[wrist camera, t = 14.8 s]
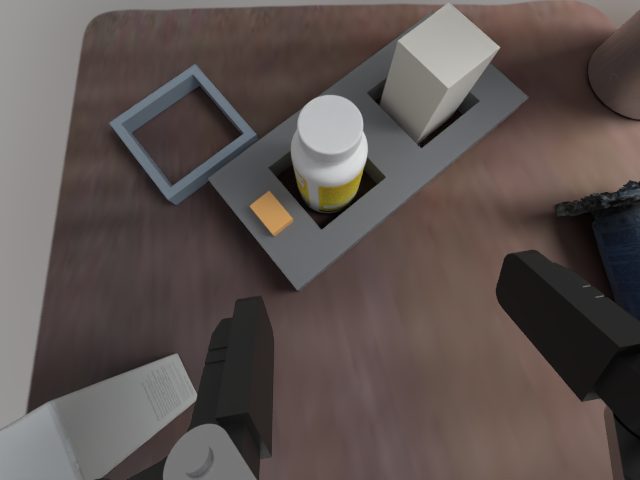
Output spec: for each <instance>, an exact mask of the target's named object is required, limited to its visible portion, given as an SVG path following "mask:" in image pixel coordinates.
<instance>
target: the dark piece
mask: <svg viewBox="0 0 640 480" xmlns="http://www.w3.org/2000/svg"><path fill="white" fill-rule="evenodd" d="M623 186H624V187H622V188H620V189H619V190H618V191H617V192H615V193H612V194H610V193H608V192H605V193H601V194H598V193H597V194H595V193H593V194H591V195H590V196H588V197H587V196H585V198H584V199H583V198H582V201H580V202H579V201H577V200H576V201H574V202H562V203H559V204H557V205H558V208H557V209H558V210H556V213H557V212H558V213H557V216H560V215H563V216H565V215H570V216H577V215H578V214H583V213H586V212H587V213H589V212H590V213H591V215H592V214H593V216H594V217H595V219H596V221H593V224H592V228H593V230H594V236H595V238H596V240H597V246H598V249H599V252H600V255H601V257H602V262H603V264H604V267H605V270H606V274H607V276H608V280H609V284H610V286H611V289H612V292H613V295H614V299H615V302H616V304H617V305H618V306H620V307H621V308H622V309H624V310H625V311H626V312H627V313H629V314H630V315H631V316H633V317H634V318H635V319H637V320H638V321H639V322H640V181H639V183H638V182H635V181H630V180H629V182H628V183H627V184H626V185H623Z"/></svg>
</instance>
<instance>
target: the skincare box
mask: <svg viewBox="0 0 640 480" xmlns="http://www.w3.org/2000/svg"><path fill="white" fill-rule="evenodd" d="M196 399H197V393H196V391H195V389H194V387H193V385H192V383H191V381H190V379H189V377H188V375H187V373H186V371H185V368H184V366H183V364H182V362H181V360H180V358H179V355H178V354H177V353H175V354H172V355H170V356H167V357H165V358H162V359H159V360H157V361H154V362H151V363H149V364H146V365H144V366H141V367H138V368H136V369H133V370H130V371H127V372H125V373H122V374H120V375H117V376H114V377H112V378H109V379H106V380H104V381H101V382H98V383H96V384H93V385H90V386H88V387H85V388H83V389H80V390H78V391H75V392H72V393H70V394H67V395H65V396H62V397H59V398H57V399H54V400H51V401H49V402H47V403H45V404H43V405H42V406H40V407H38V408H37V409H35V410H33V411H32V412H30V413H28V414H26V415H25V416H23V417H21V418H20V419H18V420H16V421H14V422H13V423H11V424H9V425H7V426H6V427H4V428H2V429H0V480H95V479H100V478H102V477H103V476H104V475H106V474H107V473H108V472H109V471H110V470H112V469H113V468H114V467H115V466H117V465H118V464H119V463H120V462H122V461H123V460H124V459H125V458H126V457H128V456H129V455H130V454H131V453H133V452H134V451H135V450H136V449H138V448H139V447H140V446H141V445H142V444H144V443H145V442H146V441H147V440H149V439H150V438H151V437H152V436H154V435H155V434H156V433H157V432H159V431H160V430H161V429H162V428H163V427H165V426H166V425H167V424H168V423H170V422H171V421H172V420H173V419H174V418H176V417H177V416H178V415H179V414H181V413H182V412H183V411H184V410H185V409H187V408H188V407H189V406H190V405H191V404H193V403H194V402H195V401H196Z"/></svg>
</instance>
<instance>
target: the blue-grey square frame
mask: <svg viewBox="0 0 640 480" xmlns="http://www.w3.org/2000/svg"><path fill="white" fill-rule="evenodd" d="M198 86H200V87H201V88H202V89H203V90H204V91H205V92H206V94H207V95H208V96H209V97H210V98H211V99H212V101H213V102H214V103H215V104H216V105H217V106H218V108H219V109H220V110H221V111H222V112H223V113H224V115H225V116H226V117H227V118H228V119H229V120H230V122H231V123H232V124H233V125H234V126H235V127H236V129H237V130H238V131H239V132H240V133H241V134H242V135H241V136H240V137H238V138H237V139H236V140H234V141H233V142H232V143H230V144H229V145H228V146H226V147H225V148H223V149H222V150H221V151H219V152H218V153H217V154H215V155H214V156H213V157H211V158H210V159H208V160H207V161H206V162H204V163H203V164H202V165H200V166H199V167H198V168H196V169H195V170H194V171H192V172H191V173H189V174H188V175H187V176H185V177H184V178H183V179H181V180H180V181H179V182H177V183H176V184H174V185H173V186H172V184H171V183H170V182H169V181H168V179H167V178H166V177H165V175H164V174H163V173H162V171H161V170H160V169H159V168H158V166H157V165H156V164H155V162H154V161H153V160H152V159H151V157H150V156H149V155H148V153H147V152H146V151H145V150H144V148H143V147H142V146H141V144H140V143H139V142H138V141H137V139H136V138H135V137H134V135H133V134H132V132H134V131H135V130H137V129H138V128H139V127H141V126H142V125H144V124H145V123H147V122H148V121H149V120H151V119H152V118H154V117H155V116H157V115H158V114H160V113H161V112H162V111H164V110H165V109H167V108H168V107H170V106H171V105H172V104H174V103H175V102H177V101H178V100H180V99H181V98H183V97H184V96H185V95H187V94H188V93H190V92H191V91H193V90H194V89H195V88H197V87H198ZM109 124H110V125H111V126H112V127H113V129H114V130H115V131H116V133H117V134H118V135H119V137H120V138H121V139H122V141H123V142H124V143H125V144H126V146H127V147H128V148H129V150H130V151H131V152H132V154H133V155H134V156H135V158H136V159H137V160H138V162H139V163H140V164H141V165H142V167H143V168H144V169H145V171H146V172H147V173H148V175H149V176H150V177H151V179H152V180H153V181H154V182H155V184H156V185H157V186H158V188H159V189H160V190H161V192H162V193H163V194H164V196H165V197H166V198H167V199H168V200H169V201H170V202H172V203H173V204H175V205H177V204H179V203H180V202H182V201H183V200H184V199H186V198H187V197H188V196H190V195H191V194H192V193H194V192H195V191H196V190H198V189H199V188H200V187H202V186H203V185H204V184H206V183H207V182H208V181H209V180H208V178H209V177H210V176H212V175H213V174H214V173H216V172H217V171H218V170H220V169H221V168H222V167H224V166H225V165H226V164H228V163H229V162H230V161H232V160H233V159H234V158H236V157H237V156H238V155H240V154H241V153H242V152H244V151H245V150H247V149H248V148H249V147H251V146H252V145H253V144H255V143H256V142H257V141H259V139H258V137H257V135H256V133H255V132H254V131H253V130H252V129H251V128H250V126H249V125H248V124H247V123H246V122H245V121H244V120H243V118H242V117H241V116H240V115H239V114H238V113H237V111H236V110H235V109H234V108H233V107H232V106H231V105H230V103H229V102H228V101H227V100H226V99H225V98H224V97H223V95H222V94H221V93H220V92H219V91H218V90H217V88H216V87H215V86H214V85H213V84H212V83H211V82H210V80H209V79H208V78H207V77H206V76H205V75H204V74H203V72H202V71H201V70H200V69H199V68H198V67H197V65H196V64H194V65H193V66H191V67H190V68H189V69H187V70H186V71H184V72H183V73H181V74H180V75H178V76H177V77H175V78H174V79H172V80H171V81H170V82H168V83H167V84H165V85H164V86H162V87H161V88H159V89H158V90H156V91H155V92H154V93H152V94H151V95H149V96H148V97H146V98H145V99H143V100H142V101H140V102H139V103H137V104H136V105H135V106H133V107H132V108H130V109H129V110H127V111H126V112H124V113H123V114H121V115H120V116H118V117H117V118H116V119H114V120H113V121H111V122H110V123H109Z"/></svg>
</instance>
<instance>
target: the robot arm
mask: <svg viewBox="0 0 640 480" xmlns="http://www.w3.org/2000/svg"><path fill="white" fill-rule="evenodd" d="M588 76H589V81H590V83H591V86H592V88H593V90H594V92H595V93H596V95H597V96H598V98H599V99H600V100H601V101H602V102H603V103H604V104H605V105H607V106H608V107H609V108H611V109H612V110H614V111H615V112H617V113H619V114H621V115H624V116H627V117H630V118H633V119H640V10H639V11H637V12H636V13H635V14H634V15H633V16H632V17H631V18H630V19H629V20H628V21H626V22H625V23H624V24H623V25H622V26H621V27H620V28H619V29H618V30H617V31H616V32H614V33H613V34H612V35H611V36H610V37H609V38H608V39H607V40H606V41H605V42H604V43H602V44H601V45H600V46H599V47H598V48H597V49H596V50H595V52H594V53H593V54H592V56H591V59H590V61H589V65H588ZM496 296H497V299H498V302H499V304H500V305H501V307H502V308H503V309H504V311H505V312H506V313H507V314H508V315H509V316H510V318H511V319H512V320H513V321H514V322H515V324H516V325H517V326H518V327H519V328H520V329H521V331H522V332H523V333H524V334H525V335H526V337H527V338H528V339H529V340H530V341H531V342H532V344H533V345H534V346H535V347H536V348H537V350H538V351H539V352H540V353H541V354H542V355H543V357H544V358H545V359H546V360H547V361H548V363H549V364H550V365H551V366H552V367H553V368H554V370H555V371H556V372H557V373H558V374H559V376H560V377H561V378H562V379H563V380H564V381H565V383H566V384H567V385H568V386H569V387H570V389H571V390H572V391H573V392H574V393H575V394H576V396H577V397H578V398H579V399H580V400H581V402H584V401H589V400H594V399H600V398H601V399H602V400H603V401H604V403H605V404H606V405H607V406H606V407H605V410H604V419H605V426H606V433H607V439H608V446H609V453H610V460H611V467H612V473H613V480H640V322H639V321H638V320H637V319H635V318H634V317H633V316H631V315H630V314H629V313H627V312H626V311H625V310H624V309H622V308H621V307H620V306H618V305H617V304H616V303H614V302H613V301H612V300H611V299H609V298H608V297H604V294H603V293H601V292H600V291H599V290H598V289H596V288H595V287H591V285H590V283H588V282H587V281H586V280H585V279H583V278H582V277H581V276H579V275H578V274H577V273H575V272H574V271H572V270H569V269H567V268H565V267H563V266H561V265H559V264H557V263H552V262H551V261H550V260H548V259H547V258H546V257H545V256H543V255H542V254H541V253H540V252H538V251H536V250H528V251H522V252H517V253H511V254H508V255H506V257H505V258H504V262H503V265H502V269H501V272H500V276H499V280H498V283H497V287H496ZM208 351H209V352H208V353H207V357H206V361H205V367H204V370H203V374H202V378H201V382H200V386H199V390H198V395H197V399H196V403H195V407H194V411H193V415H192V420H191V423H190V426H189V428H188V430H187V432H186V434H185V435H184V436H182V437H181V438H180V439H179V441H178V442H177V443H176V444H175V445H174V447H173V448H172V450H171V452H170V454H169V455H168V456H167V457H165V458H164V459H163V460H161V461H160V462H158V463H157V464H155V465H153V466H151V467H149V468H147V469H146V470H144V471H142V472H140V473H138V474H136V475H134V476H133V477H131V478H129V479H127V480H259V468H260V459H264V458H269V457H271V455H272V412H273V369H274V337H273V331H272V327H271V323H270V320H269V317H268V314H267V311H266V308H265V305H264V302H263V299H262V297H261V296H255V297H249V298H244V299H238V300H237V301H236V303H235V309H234V314H233V317H232V318H226V319H222V320H221V321H220V323H219V324H218V326H217V327H216V329H215V330H214V332H213V333H212V336H211V340H210V345H209V349H208ZM95 480H109V479H106V478H100V479H95Z"/></svg>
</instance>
